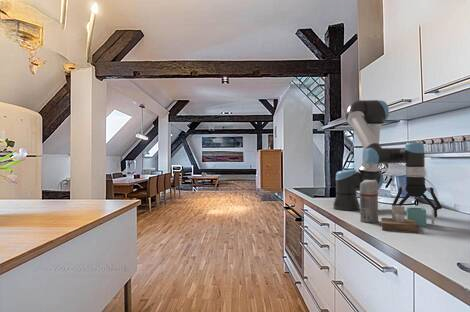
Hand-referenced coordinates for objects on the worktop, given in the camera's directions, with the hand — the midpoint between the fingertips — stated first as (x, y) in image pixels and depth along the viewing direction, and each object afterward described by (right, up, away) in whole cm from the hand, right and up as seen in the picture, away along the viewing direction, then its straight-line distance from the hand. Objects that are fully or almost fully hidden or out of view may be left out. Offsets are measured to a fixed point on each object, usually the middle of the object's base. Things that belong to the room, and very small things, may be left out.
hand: (416, 223), depth 143 cm
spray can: (-18, -1, +7) cm, 20 cm away
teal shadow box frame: (0, 0, 0) cm, 0 cm away
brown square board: (-12, 0, -8) cm, 15 cm away
